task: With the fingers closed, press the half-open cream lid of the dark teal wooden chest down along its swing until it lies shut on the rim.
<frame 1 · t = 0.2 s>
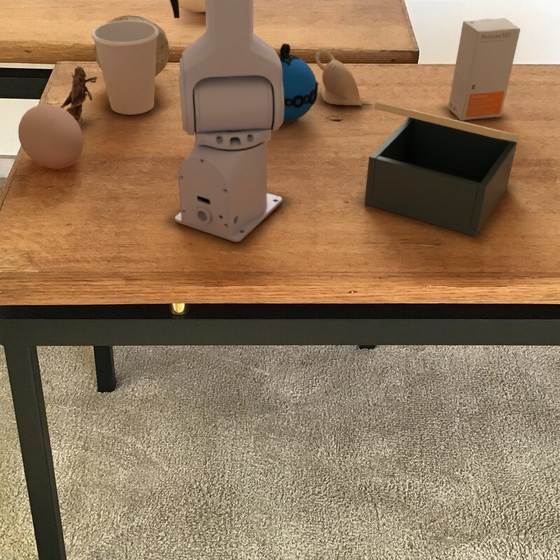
hand: (206, 14, 101), 11 cm above the table, tool pointing down, fingers open, 7 cm apart
dixie cup: (132, 106, 103), on the table, touching insect, sculpture
decorative ornament: (337, 98, 107), on the table
egg: (36, 119, 92), point 3 cm above the table
cosmetic box: (474, 114, 103), on the table
insect: (87, 103, 100), point 2 cm above the table, touching dixie cup
ornament: (283, 120, 101), on the table
chest: (437, 195, 86), on the table
lid: (449, 122, 81), point 9 cm above the table, hinge at 25.0°
sculpture: (142, 78, 110), on the table, touching dixie cup
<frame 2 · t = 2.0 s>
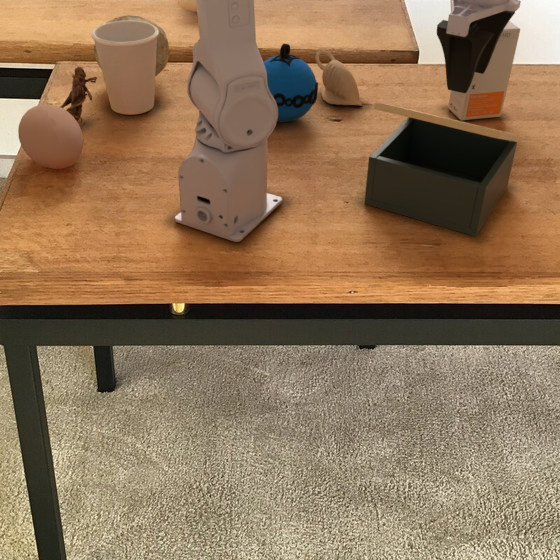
hand: (466, 80, 86), 10 cm above the table, tool pointing down, fingers open, 6 cm apart
nothing on the table moved.
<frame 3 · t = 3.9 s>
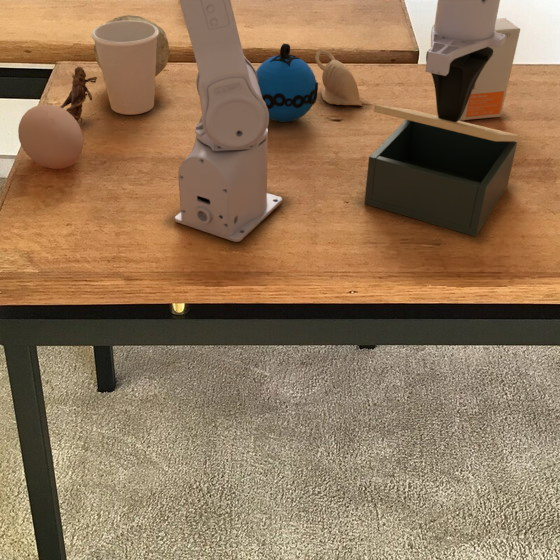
hand: (449, 117, 80), 9 cm above the table, tool pointing down, fingers closed
lid: (449, 123, 81), point 9 cm above the table, hinge at 23.6°, touching gripper
everything else where it was.
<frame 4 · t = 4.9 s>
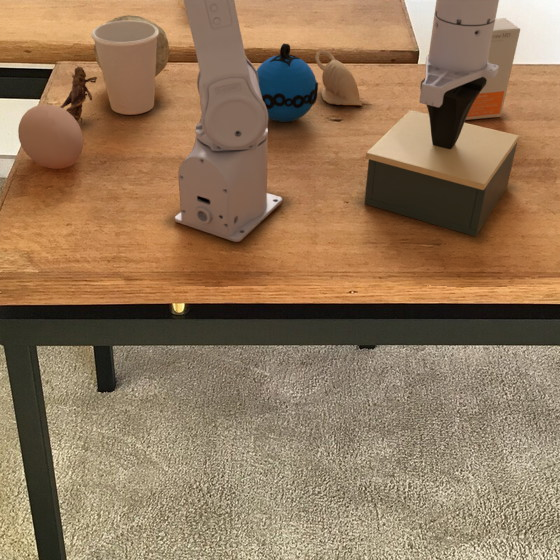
hand: (443, 144, 82), 7 cm above the table, tool pointing down, fingers closed, pressing on lid
lid: (444, 146, 82), point 6 cm above the table, hinge at 0.7°, touching gripper
everything else where it was.
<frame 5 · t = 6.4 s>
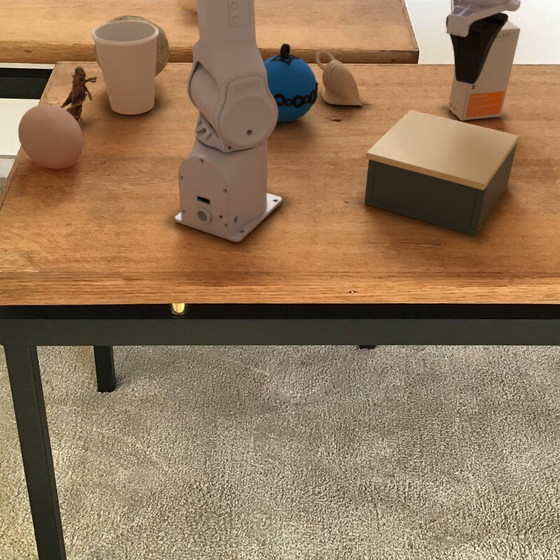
hand: (466, 80, 86), 10 cm above the table, tool pointing down, fingers closed
lid: (444, 146, 82), point 6 cm above the table, hinge at 0.7°
everything else where it was.
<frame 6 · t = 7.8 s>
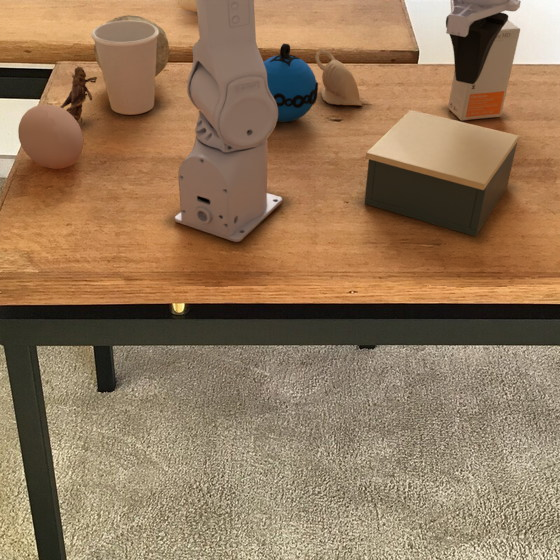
hand: (466, 80, 86), 10 cm above the table, tool pointing down, fingers closed
nothing on the table moved.
at the end: lid at +1° (first picture: +25°) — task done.
